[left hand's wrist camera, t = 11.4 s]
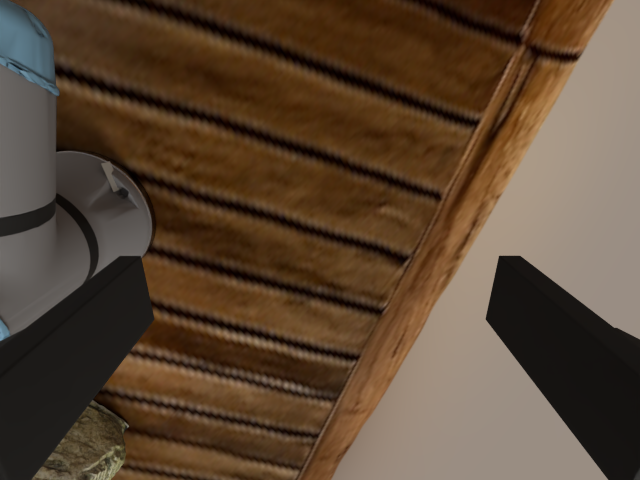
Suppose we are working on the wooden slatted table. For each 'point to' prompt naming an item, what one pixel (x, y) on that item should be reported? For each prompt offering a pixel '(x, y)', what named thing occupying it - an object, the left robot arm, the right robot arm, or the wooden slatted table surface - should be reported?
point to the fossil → (88, 448)
